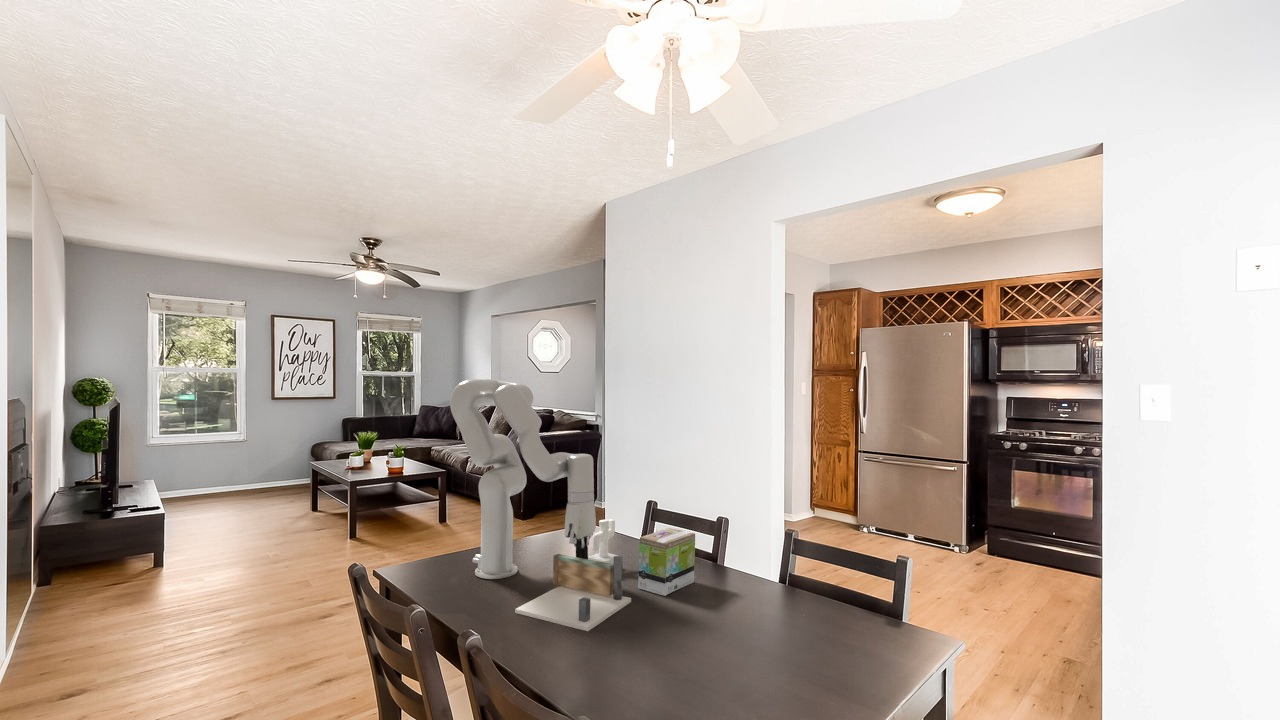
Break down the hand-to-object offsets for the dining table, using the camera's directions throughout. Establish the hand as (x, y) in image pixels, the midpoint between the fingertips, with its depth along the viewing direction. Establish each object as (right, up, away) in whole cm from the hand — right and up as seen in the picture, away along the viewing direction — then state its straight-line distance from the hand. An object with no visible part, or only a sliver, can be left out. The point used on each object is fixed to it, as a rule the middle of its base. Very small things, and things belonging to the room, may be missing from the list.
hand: (581, 560), depth 173 cm
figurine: (+5, -7, +14) cm, 16 cm away
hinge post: (+7, -6, -21) cm, 23 cm away
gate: (+1, -5, -9) cm, 10 cm away
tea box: (+25, -7, -1) cm, 26 cm away
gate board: (0, -6, -18) cm, 19 cm away
